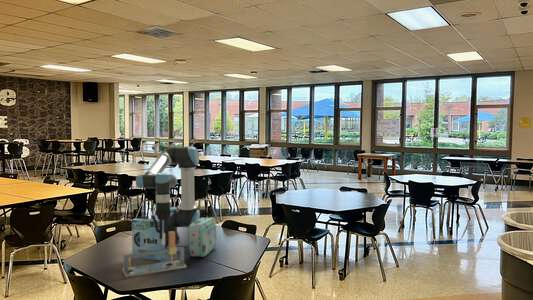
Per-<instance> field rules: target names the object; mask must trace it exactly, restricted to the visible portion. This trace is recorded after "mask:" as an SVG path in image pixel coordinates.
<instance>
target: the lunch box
mask: <svg viewBox="0 0 533 300" xmlns="http://www.w3.org/2000/svg"><path fill="white" fill-rule="evenodd" d="M187 237H188V238H187V239H188V250H189V251H188V252H189V256H190V257H202V258H204V257H207V255H209V254H210V253H211V252H212V251H214V249H215V248H216V246H217V224H216V219H215V217H208V218H207V217H206V218H205V217H201V218H199V220H197V221H195V222H193V223H192V224H191V225H190V226H189V228H187Z"/></svg>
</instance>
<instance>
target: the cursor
mask: <svg viewBox="0 0 533 300" xmlns="http://www.w3.org/2000/svg"><path fill="white" fill-rule="evenodd" d="M166 246H167V247H166V249H169V252H167V254H168V256H169V255H170V261H171V264H173V261H174V260H173V257H174V255H176V254H177V251H176V247H177V246H176V244H175V232H174V231H170V232H168V245H166Z"/></svg>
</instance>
